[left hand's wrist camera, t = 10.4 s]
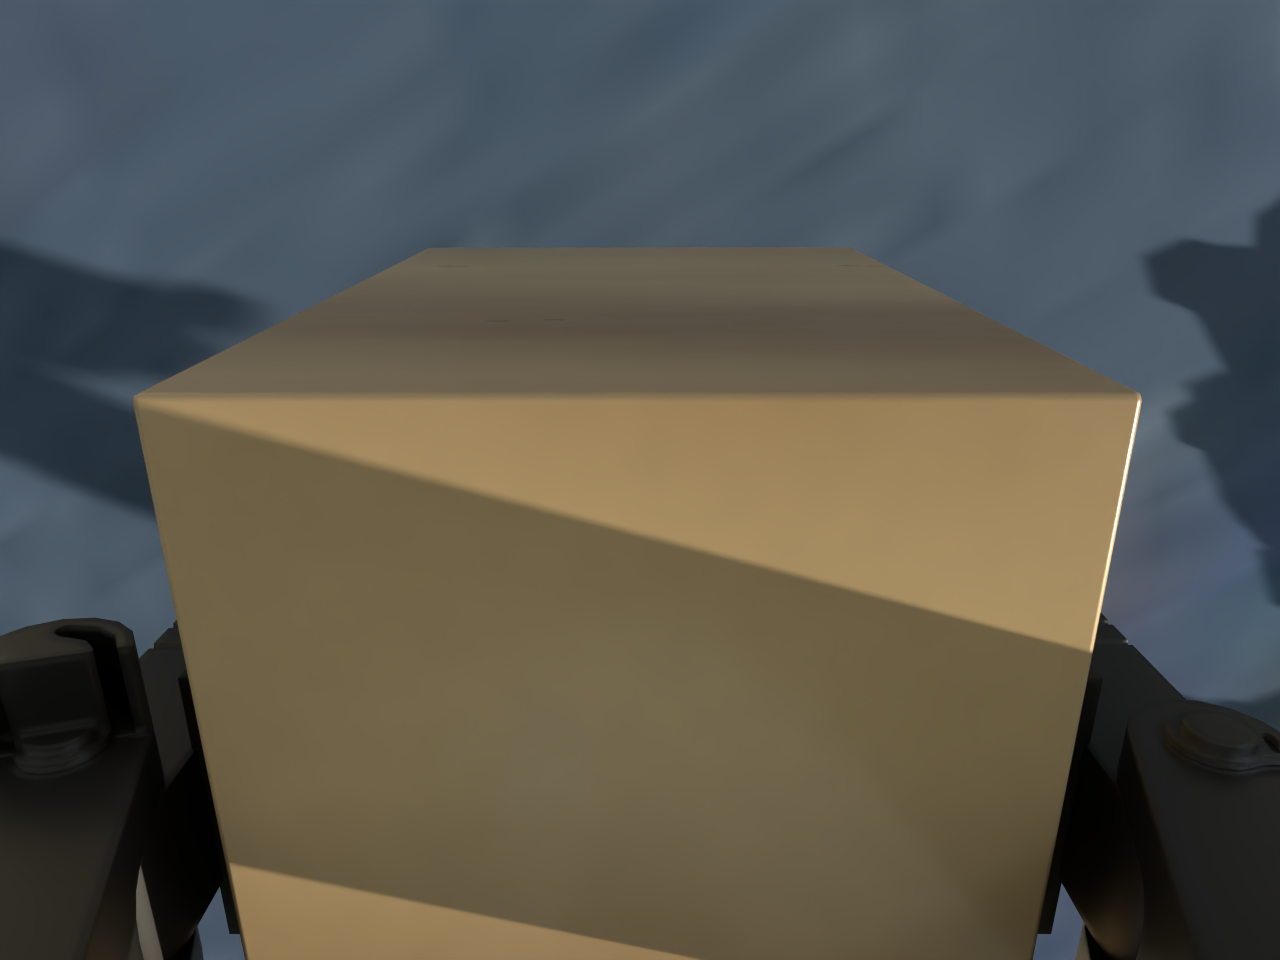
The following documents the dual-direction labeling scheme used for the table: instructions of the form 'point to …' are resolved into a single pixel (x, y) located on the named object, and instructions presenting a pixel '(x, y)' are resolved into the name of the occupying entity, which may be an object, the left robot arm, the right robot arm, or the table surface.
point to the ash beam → (638, 608)
